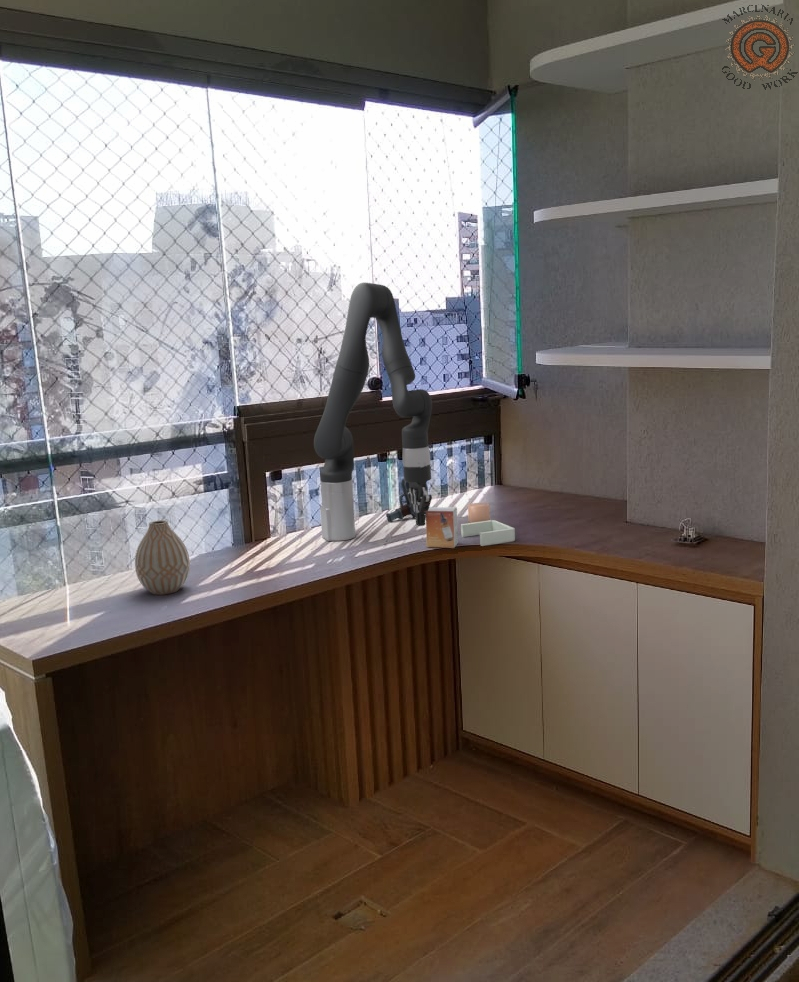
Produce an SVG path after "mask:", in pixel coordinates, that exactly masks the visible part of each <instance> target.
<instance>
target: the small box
mask: <svg viewBox="0 0 799 982" xmlns="http://www.w3.org/2000/svg"><path fill="white" fill-rule="evenodd" d="M425 528H426V529H425V534H426V536H425V537H426V547H427V548H448V549H449V548H450V549H454V548H455V547H456V546H457V544H458V543H459V539H458V538H459V537H458V536H459V535H458V532H459V531H458V508H457V506H453V507H452V506H449V507H447V506H446V507H443V506H442V507H441V506H438V507H437V506H436V507H435V506H429V509H428V511H426V514H425Z"/></svg>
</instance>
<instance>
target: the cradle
mask: <svg viewBox="0 0 799 982" xmlns="http://www.w3.org/2000/svg"><path fill="white" fill-rule="evenodd" d="M460 529H461V530H460V534H461V535H460V536H461V537H462V538H464V537H472V536H473V537H474V536H479V546H480V547H481V546H482V547H484V546H491V545H498V544H504V543H511V542H514V541H515V540H516V533H515V531H516V529H515V527H512V526H511V525H508V524H505V523H502V522H500V521H497V520H495V519H494V520H493V519H490V520H488V521H481V522H474V523H469V522H468V523H461V524H460Z"/></svg>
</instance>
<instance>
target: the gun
mask: <svg viewBox="0 0 799 982" xmlns="http://www.w3.org/2000/svg"><path fill="white" fill-rule="evenodd" d="M400 486H401V489H402V492H403V494H401V495H400V496H399V501H398V502H399V504H400V507H398V508H395V509H394V511H391V512H390V513H388V512H386V514H385V517H386V520H387V522H388V523H393V521H394V520H397V519H398V520H404V518H405V517H407V516H411V517H412V518H415V519H416V517H415V512H414V509H412V508H411V506H410V503H409V500H408V497H407V494H406V490H408V489H409V488H410V487H409V482H406V481H404V477H403V478H402V479H401V481H400ZM403 497H404V499H405V501H404V500H403ZM403 503H405V505H404V504H403ZM425 515H426V512H425Z"/></svg>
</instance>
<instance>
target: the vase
mask: <svg viewBox="0 0 799 982" xmlns="http://www.w3.org/2000/svg"><path fill="white" fill-rule="evenodd" d="M134 569H135V575H136V577H137V580H138V581H139V583H140V585H142V587H143V588H144V589H145V590H147V591H148V592H149V593H151V594H153V595H157V596H158V595H159V596H160V595H161V596H162V595H169V594H174V593H176V592H178V591H179V590H180V589H181V588H182V587H183V586H184V585H185V583H186V582H187V579H188V577H189V574H190V569H191V560H190V556H189V550H188V548H187V546H186V544H185V543H184V541H183V540H182V538H180V536H179V535H178V534H177V533H176V532H175V531H174V530H173V529H172V528H171V526H170V525H169V522H168V520H166V519H165V520H164V519H161V520H160V519H159V520H153V521H150V522H149V523H148V528H147V531H146V533H145V534H144V535H143V537H142V539H141V540H140V542H139V543H138V546H137V549H136V552H135V556H134Z"/></svg>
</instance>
